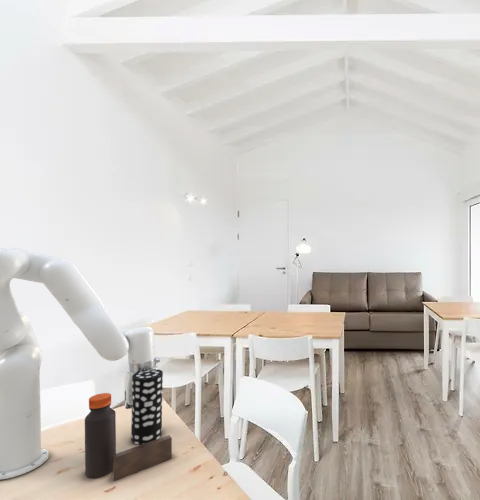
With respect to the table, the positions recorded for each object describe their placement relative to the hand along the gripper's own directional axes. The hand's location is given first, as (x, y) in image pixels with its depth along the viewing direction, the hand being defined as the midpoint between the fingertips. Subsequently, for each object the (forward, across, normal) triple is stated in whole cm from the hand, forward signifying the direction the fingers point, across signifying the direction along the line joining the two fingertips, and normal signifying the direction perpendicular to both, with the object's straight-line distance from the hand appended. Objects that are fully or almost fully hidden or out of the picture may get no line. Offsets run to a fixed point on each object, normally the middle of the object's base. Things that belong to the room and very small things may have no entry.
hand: (144, 420), depth 116 cm
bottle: (+3, +15, +15) cm, 21 cm away
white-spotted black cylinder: (+3, +1, +6) cm, 6 cm away
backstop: (+3, +6, +22) cm, 23 cm away
